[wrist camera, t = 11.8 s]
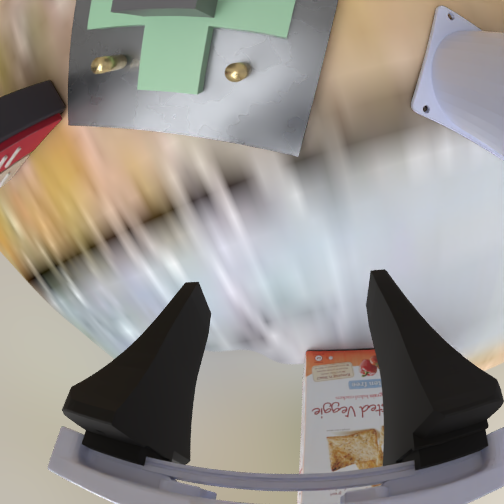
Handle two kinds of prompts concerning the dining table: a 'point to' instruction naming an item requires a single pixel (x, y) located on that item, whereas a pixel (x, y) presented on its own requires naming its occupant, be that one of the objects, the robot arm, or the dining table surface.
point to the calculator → (26, 124)
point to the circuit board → (186, 33)
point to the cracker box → (340, 418)
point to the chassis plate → (205, 82)
